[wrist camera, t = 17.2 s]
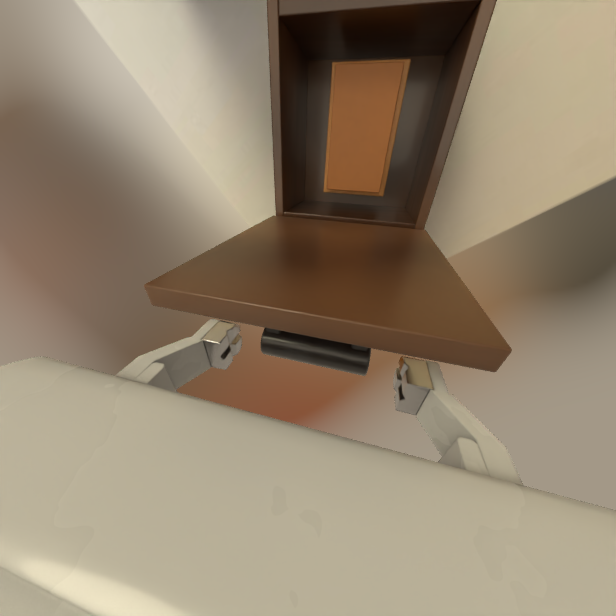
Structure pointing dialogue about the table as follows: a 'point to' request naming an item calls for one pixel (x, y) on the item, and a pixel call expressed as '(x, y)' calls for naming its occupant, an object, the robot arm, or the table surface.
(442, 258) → the lid
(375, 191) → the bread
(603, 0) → the table surface
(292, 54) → the box
